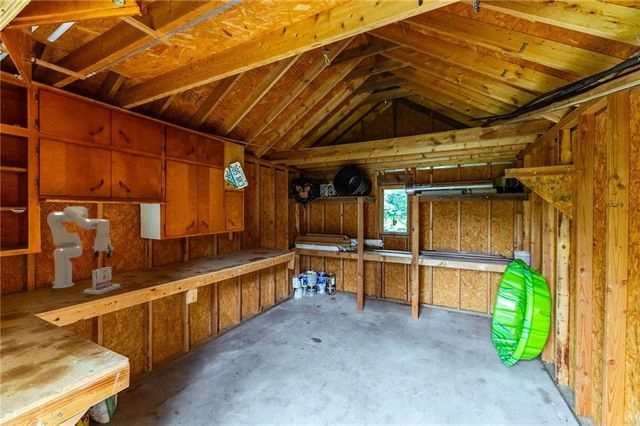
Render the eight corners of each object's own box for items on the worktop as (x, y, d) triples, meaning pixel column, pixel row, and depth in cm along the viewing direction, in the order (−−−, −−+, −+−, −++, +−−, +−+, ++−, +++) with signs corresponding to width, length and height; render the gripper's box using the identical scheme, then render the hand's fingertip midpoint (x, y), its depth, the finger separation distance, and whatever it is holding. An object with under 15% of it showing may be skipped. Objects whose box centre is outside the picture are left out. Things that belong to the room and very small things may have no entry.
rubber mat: (80, 294, 191) (80, 293, 191) (104, 286, 211) (104, 285, 211) (100, 295, 190) (100, 294, 190) (123, 287, 210) (123, 286, 210)
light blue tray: (83, 293, 192) (83, 290, 192) (105, 285, 210) (106, 283, 210) (98, 293, 191) (98, 291, 191) (119, 286, 209) (119, 284, 209)
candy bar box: (107, 287, 207) (107, 266, 206) (112, 287, 205) (112, 267, 205) (91, 291, 196) (91, 269, 196) (96, 292, 194) (96, 270, 194)
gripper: (88, 235, 197) (87, 258, 197) (109, 236, 196) (108, 259, 196) (97, 234, 204) (96, 256, 205) (117, 235, 203) (117, 257, 203)
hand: (102, 257), depth 200 cm, fingers open, 9 cm apart
